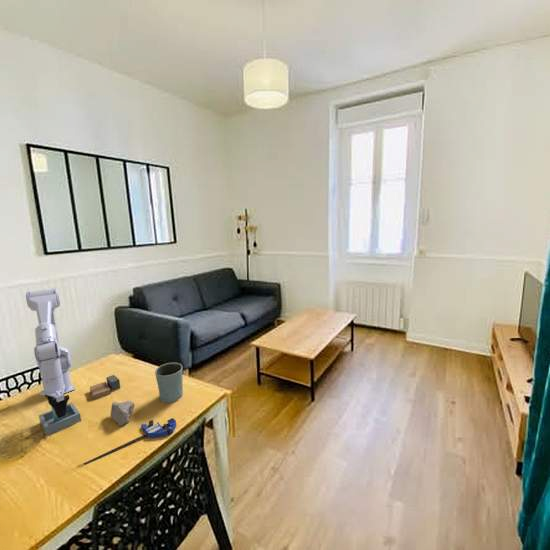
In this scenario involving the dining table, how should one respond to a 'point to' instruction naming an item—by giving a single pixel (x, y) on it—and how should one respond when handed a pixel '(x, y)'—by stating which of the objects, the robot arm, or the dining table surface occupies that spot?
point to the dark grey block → (113, 382)
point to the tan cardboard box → (100, 390)
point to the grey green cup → (169, 382)
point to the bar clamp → (150, 432)
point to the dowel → (56, 416)
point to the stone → (121, 411)
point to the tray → (52, 427)
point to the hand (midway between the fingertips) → (58, 411)
